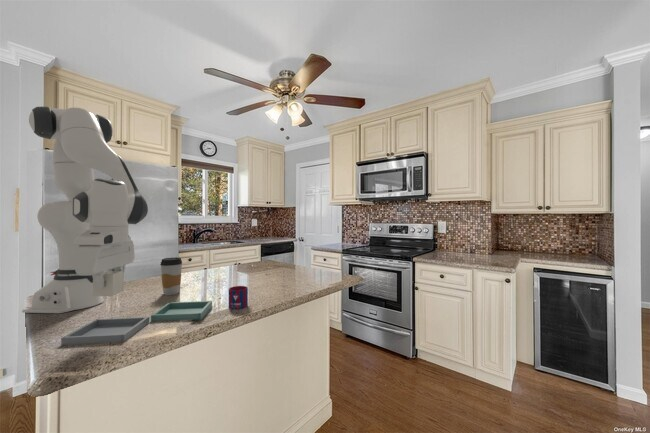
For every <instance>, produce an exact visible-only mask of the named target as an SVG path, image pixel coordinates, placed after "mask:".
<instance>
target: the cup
mask: <svg viewBox="0 0 650 433" xmlns="http://www.w3.org/2000/svg"><path fill="white" fill-rule="evenodd" d="M248 291H249V289H248V286H245V285H235V286H231V287H229V288H228V309H231V310H242V309H245V308H248V306H249V304H248V301H249V300H248V299H249V298H248V297H249V296H248V295H249V294H248Z"/></svg>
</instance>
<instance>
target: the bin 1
mask: <svg viewBox="0 0 650 433" xmlns="http://www.w3.org/2000/svg"><path fill="white" fill-rule="evenodd" d="M148 324H150V316H137V317H135V316H134V317H118V318H117V317H116V318H115V317H114V318H110V317H109V318H96V319H94V320H92V321H90V322H88V323H87V324H84V325H83V326H80V327H79V328H77V329H75V330H73V331H72V332H70V333H68V334H66V335H64V336H62V337H61V340H60V343H61V344H60V345H61V346H70V345H71V346H72V345H87V344H89V345H90V344H105V343H106V344H107V343H125V342H126V341H127V340H129V339H130V338H131V337H133V336H134V335H136V334H137V333H138V332H140V330H142V329H143V328H145V327H146V326H147V325H148Z"/></svg>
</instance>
